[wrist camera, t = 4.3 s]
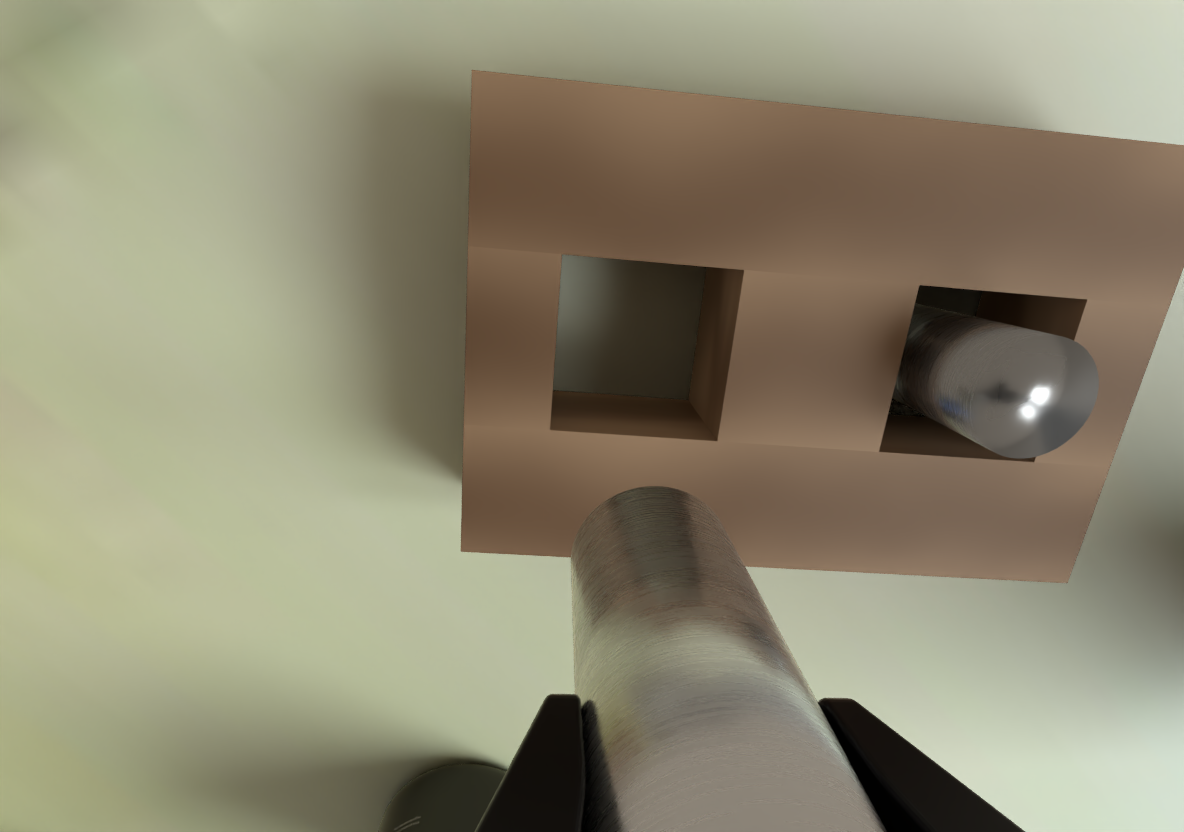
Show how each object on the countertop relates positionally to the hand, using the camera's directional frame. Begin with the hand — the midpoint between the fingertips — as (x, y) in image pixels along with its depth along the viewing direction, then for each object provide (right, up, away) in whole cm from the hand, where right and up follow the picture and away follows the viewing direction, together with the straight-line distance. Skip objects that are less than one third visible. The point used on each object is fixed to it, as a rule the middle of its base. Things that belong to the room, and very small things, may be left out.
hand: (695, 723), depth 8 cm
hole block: (+4, +6, +12) cm, 14 cm away
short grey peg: (+9, +6, +12) cm, 16 cm away
